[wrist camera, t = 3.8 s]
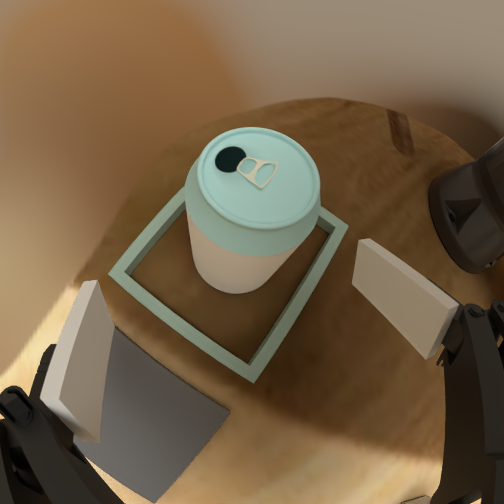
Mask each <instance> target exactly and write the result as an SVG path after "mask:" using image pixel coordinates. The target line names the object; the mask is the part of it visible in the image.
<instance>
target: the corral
mask: <svg viewBox="0 0 504 504" xmlns="http://www.w3.org/2000/svg"><path fill="white" fill-rule="evenodd" d="M185 209H186V203H185V185H184V186H183V188H182V189H181V190H180V191H179V192H178V193H177V194H176V195H175V196H174V197H173V198H172V199H171V200H170V201H169V202H168V203H167V205H166V206H165V207H164V208H163V209H162V210H161V211H160V212H159V213H158V214H157V216H156V217H155V218H154V219H153V220H152V221H151V222H150V224H149V225H148V226H147V227H146V228H145V229H144V230H143V232H142V233H141V234H140V235H139V236H138V237H137V239H136V240H135V241H134V242H133V243H132V245H131V246H130V247H129V248H128V249H127V251H126V252H125V253H124V254H123V256H122V257H121V258H120V259H119V261H118V262H117V263H116V264H115V266H114V267H113V268H112V270H111V271H110V272H109V273H108V275H110V276H111V277H112V278H113V279H114V280H115V281H116V282H117V283H118V284H120V285H121V286H122V287H123V288H124V289H125V290H126V291H128V292H129V293H130V294H131V295H132V296H133V297H135V298H136V299H137V300H138V301H139V302H140V303H142V304H143V305H144V306H145V307H147V308H148V309H149V310H150V311H151V312H153V313H154V314H155V315H156V316H158V317H159V318H160V319H161V320H163V321H164V322H165V323H167V324H168V325H169V326H170V327H172V328H173V329H174V330H176V331H177V332H178V333H180V334H181V335H182V336H184V337H185V338H186V339H188V340H189V341H191V342H192V343H193V344H195V345H196V346H197V347H199V348H200V349H202V350H203V351H205V352H206V353H207V354H209V355H210V356H212V357H213V358H215V359H216V360H218V361H219V362H221V363H222V364H224V365H225V366H227V367H228V368H230V369H231V370H233V371H234V372H236V373H237V374H239V375H241V376H242V377H244V378H245V379H247V380H249V381H250V382H252V383H253V384H254V383H255V381H256V380H257V378H258V377H259V375H260V374H261V372H262V371H263V369H264V368H265V367H266V365H267V364H268V362H269V361H270V359H271V358H272V356H273V355H274V353H275V352H276V350H277V348H278V347H279V345H280V344H281V342H282V341H283V339H284V338H285V336H286V334H287V333H288V331H289V330H290V328H291V327H292V325H293V323H294V322H295V320H296V318H297V317H298V315H299V314H300V312H301V310H302V309H303V307H304V305H305V304H306V302H307V300H308V299H309V297H310V295H311V294H312V292H313V290H314V288H315V287H316V285H317V283H318V282H319V280H320V278H321V276H322V275H323V273H324V271H325V269H326V267H327V266H328V264H329V262H330V260H331V258H332V257H333V255H334V253H335V251H336V249H337V247H338V246H339V244H340V242H341V240H342V238H343V236H344V234H345V232H346V230H347V228H348V227H349V226H348V225H347V224H345V223H344V222H343V221H341V220H340V219H338V218H337V217H336V216H334V215H333V214H332V213H330V212H329V211H327V210H326V209H325V208H323V207H322V206H320V211H319V216H318V219H317V222H316V225H318V226H319V227H321V228H322V229H323V230H325V231H326V232H328V233H329V235H328V237H327V239H326V241H325V242H324V244H323V246H322V248H321V249H320V251H319V253H318V254H317V256H316V258H315V259H314V261H313V263H312V265H311V266H310V268H309V270H308V271H307V273H306V275H305V276H304V278H303V279H302V281H301V283H300V284H299V286H298V288H297V289H296V291H295V292H294V294H293V296H292V297H291V299H290V300H289V302H288V304H287V305H286V307H285V308H284V310H283V311H282V313H281V315H280V316H279V318H278V319H277V321H276V322H275V324H274V325H273V327H272V328H271V330H270V331H269V333H268V335H267V336H266V338H265V339H264V341H263V342H262V344H261V345H260V346H259V348H258V349H257V351H256V352H255V354H254V355H253V357H252V358H251V360H250V361H249V363H248V364H246V363H245V362H243V361H242V360H240V359H239V358H237V357H236V356H234V355H232V354H231V353H229V352H228V351H227V350H225V349H224V348H222V347H221V346H219V345H218V344H216V343H215V342H213V341H212V340H211V339H209V338H208V337H206V336H205V335H203V334H202V333H201V332H199V331H198V330H197V329H195V328H194V327H192V326H191V325H190V324H188V323H187V322H186V321H184V320H183V319H182V318H180V317H179V316H178V315H176V314H175V313H174V312H172V311H171V310H170V309H169V308H167V307H166V306H165V305H163V304H162V303H161V302H160V301H158V300H157V299H156V298H155V297H153V296H152V295H151V294H150V293H148V292H147V291H146V290H145V289H144V288H142V287H141V286H140V285H139V284H138V283H136V282H135V281H134V280H133V279H132V278H130V277H129V276H130V275H131V273H132V272H133V271H134V269H135V268H136V267H137V266H138V264H139V263H140V262H141V261H142V259H143V258H144V257H145V256H146V255H147V253H148V252H149V251H150V250H151V248H152V247H153V246H154V245H155V244H156V242H157V241H158V240H159V239H160V238H161V236H162V235H163V234H164V233H165V232H166V231H167V229H168V228H169V227H170V226H171V225H172V224H173V222H174V221H175V220H176V219H177V218H178V217H179V216H180V215H181V213H182V212H183V211H184V210H185Z"/></svg>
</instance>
